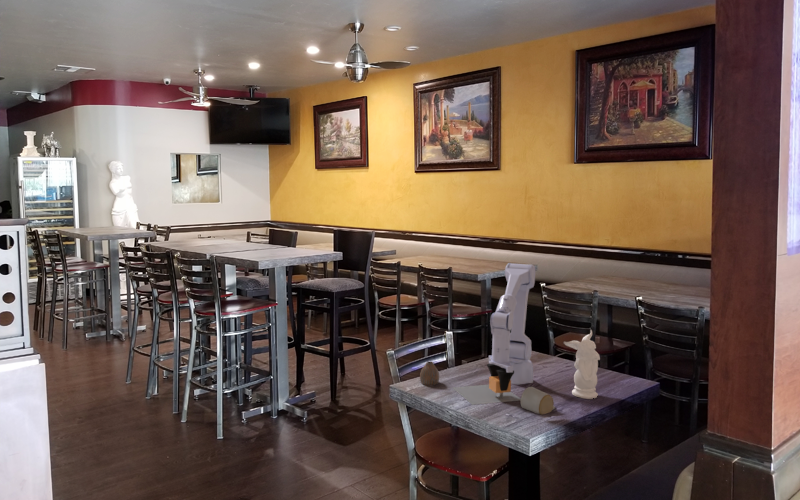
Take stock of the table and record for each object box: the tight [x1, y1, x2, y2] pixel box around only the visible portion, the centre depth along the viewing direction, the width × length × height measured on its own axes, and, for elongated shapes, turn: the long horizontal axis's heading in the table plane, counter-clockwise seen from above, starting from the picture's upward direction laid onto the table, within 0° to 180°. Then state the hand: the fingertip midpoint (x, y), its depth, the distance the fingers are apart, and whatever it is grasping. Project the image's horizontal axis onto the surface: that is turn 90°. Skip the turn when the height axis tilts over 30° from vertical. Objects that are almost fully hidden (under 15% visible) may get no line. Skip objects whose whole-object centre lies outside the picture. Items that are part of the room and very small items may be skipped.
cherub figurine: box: [563, 329, 601, 400], centre depth 214 cm, size 12×12×22 cm
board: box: [452, 384, 521, 406], centre depth 211 cm, size 18×18×1 cm
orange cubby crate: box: [488, 375, 512, 393], centre depth 207 cm, size 5×5×4 cm
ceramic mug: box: [520, 386, 556, 415], centre depth 196 cm, size 11×8×8 cm
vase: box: [419, 361, 440, 387], centre depth 221 cm, size 7×7×9 cm
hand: (499, 387), depth 207 cm, fingers closed on orange cubby crate, 5 cm apart
